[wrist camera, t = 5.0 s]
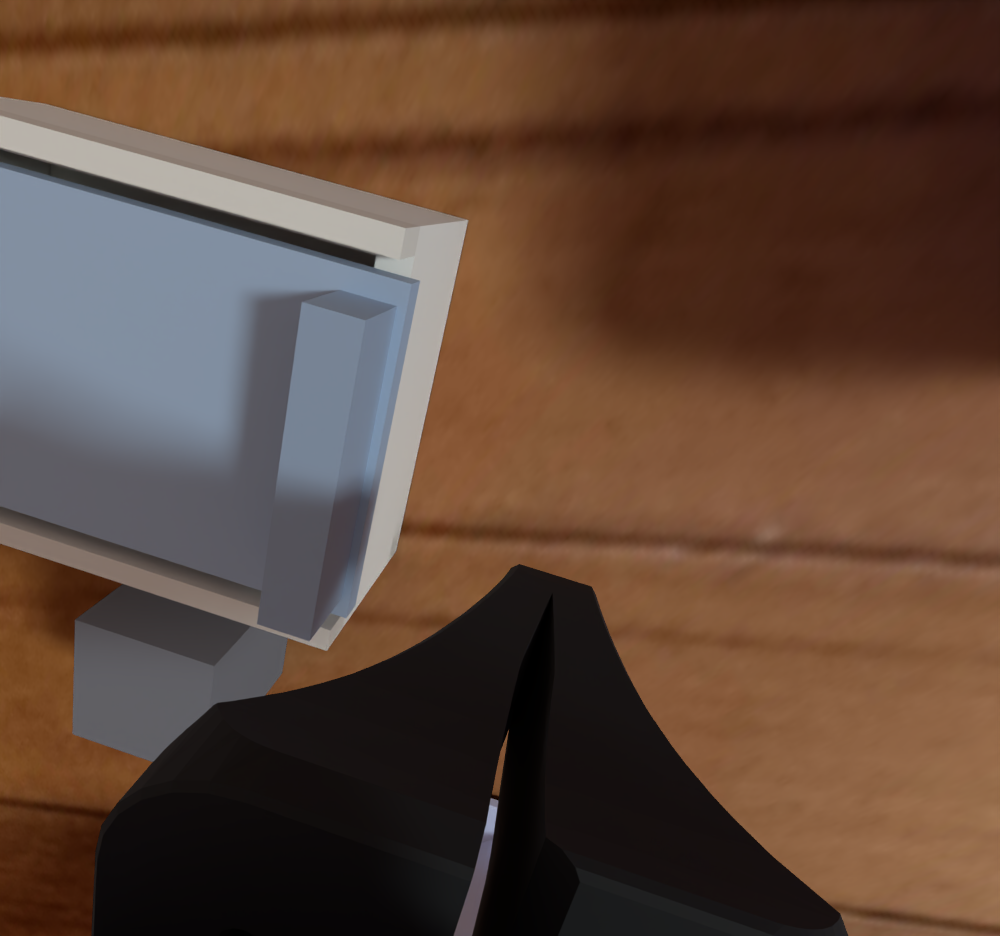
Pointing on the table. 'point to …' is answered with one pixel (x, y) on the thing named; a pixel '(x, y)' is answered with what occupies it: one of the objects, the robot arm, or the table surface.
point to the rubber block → (162, 669)
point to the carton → (273, 214)
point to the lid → (196, 391)
